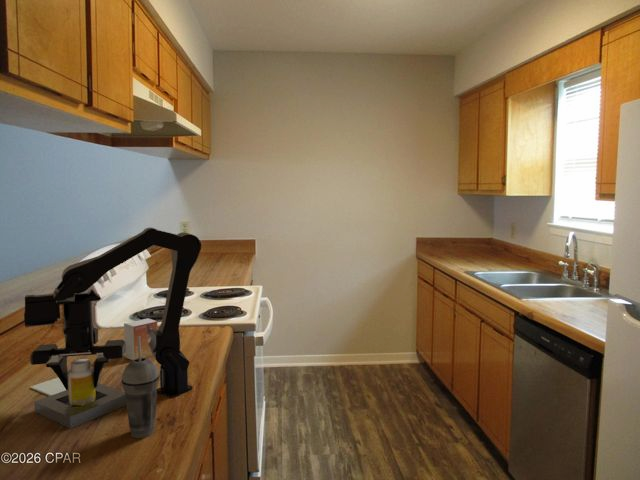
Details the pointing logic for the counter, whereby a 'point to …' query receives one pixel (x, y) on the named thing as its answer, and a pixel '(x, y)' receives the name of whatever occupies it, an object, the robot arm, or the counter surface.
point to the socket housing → (71, 417)
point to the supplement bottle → (81, 383)
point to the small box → (131, 337)
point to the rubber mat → (50, 387)
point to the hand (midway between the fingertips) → (81, 388)
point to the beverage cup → (141, 394)
